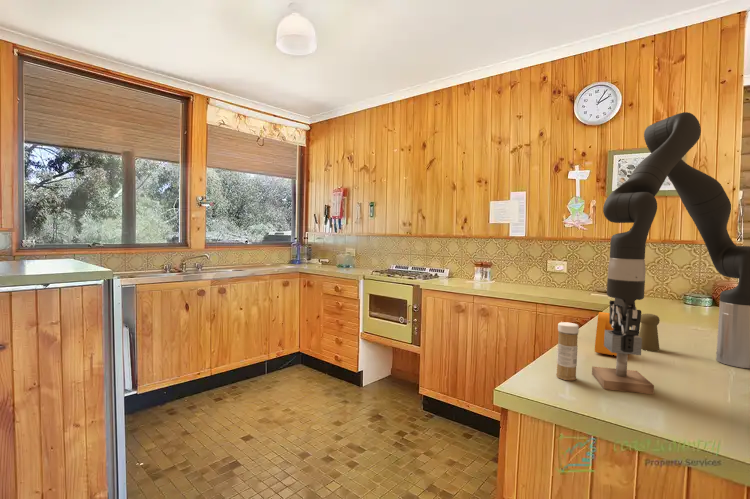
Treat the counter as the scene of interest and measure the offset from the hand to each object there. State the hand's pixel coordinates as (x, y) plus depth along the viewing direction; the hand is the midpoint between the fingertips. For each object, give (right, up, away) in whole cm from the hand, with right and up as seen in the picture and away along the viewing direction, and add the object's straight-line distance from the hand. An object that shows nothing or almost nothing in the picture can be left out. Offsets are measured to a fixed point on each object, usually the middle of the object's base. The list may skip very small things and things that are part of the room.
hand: (622, 347), depth 95 cm
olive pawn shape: (+28, -8, +31) cm, 43 cm away
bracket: (+13, -8, +26) cm, 30 cm away
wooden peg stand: (0, -9, 0) cm, 9 cm away
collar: (0, -1, 0) cm, 1 cm away
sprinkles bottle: (-12, -8, +3) cm, 15 cm away
